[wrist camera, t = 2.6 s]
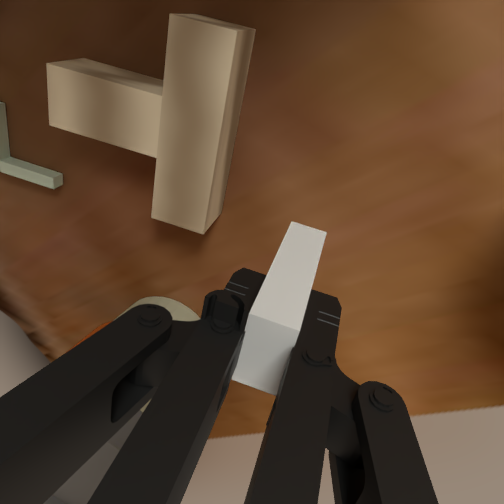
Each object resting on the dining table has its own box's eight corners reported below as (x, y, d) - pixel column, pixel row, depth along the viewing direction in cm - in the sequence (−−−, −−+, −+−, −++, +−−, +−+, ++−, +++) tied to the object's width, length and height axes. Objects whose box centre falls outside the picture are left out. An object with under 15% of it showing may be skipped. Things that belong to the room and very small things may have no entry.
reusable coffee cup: (87, 319, 43) (-36, 444, 30) (159, 255, 37) (41, 379, 24) (175, 399, 45) (94, 547, 33) (256, 352, 39) (195, 512, 26)
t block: (256, 29, 26) (237, 30, 23) (221, 212, 33) (203, 234, 30) (83, -15, 28) (42, -20, 25) (84, 169, 35) (52, 185, 31)
